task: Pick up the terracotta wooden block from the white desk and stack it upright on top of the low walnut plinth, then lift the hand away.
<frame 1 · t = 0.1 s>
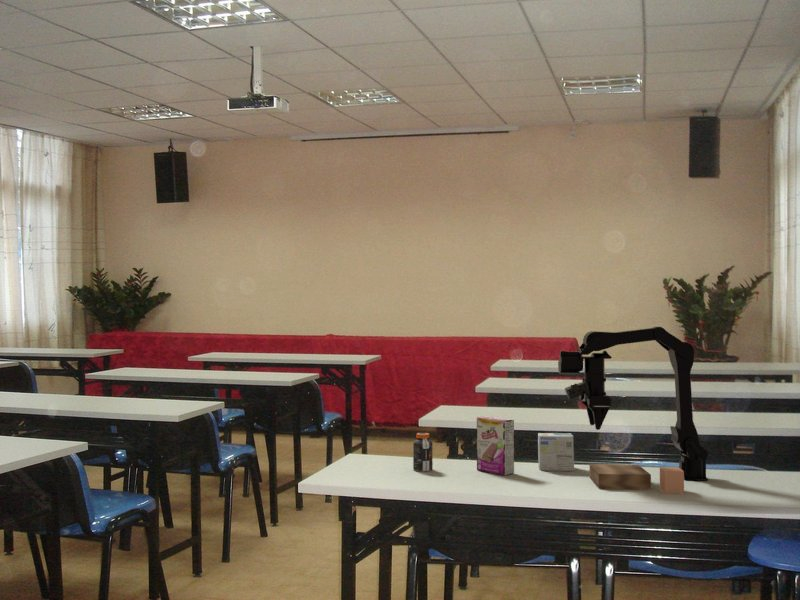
hand: (594, 427, 227), 15 cm above the table, fingers open, 9 cm apart
terracotta block: (671, 491, 209), on the table
pill bottle: (422, 470, 238), on the table
light bulb box: (555, 469, 240), on the table
candy bar box: (495, 472, 235), on the table
walnut plinth: (619, 483, 219), on the table
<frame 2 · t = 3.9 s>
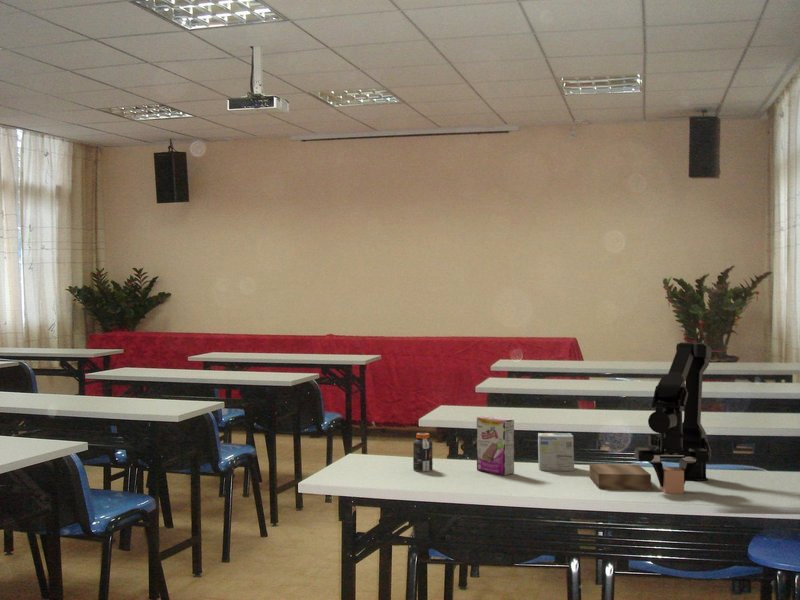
hand: (671, 486, 209), 1 cm above the table, fingers closed on terracotta block, 5 cm apart
terracotta block: (671, 491, 209), on the table, touching gripper
everything else where it was.
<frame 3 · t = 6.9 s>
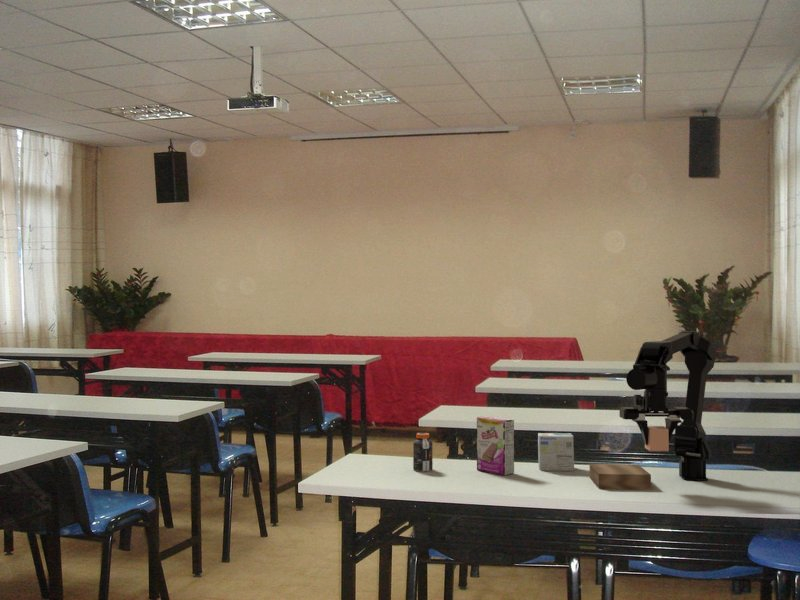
hand: (656, 444, 212), 12 cm above the table, fingers closed on terracotta block, 5 cm apart
terracotta block: (656, 449, 212), point 11 cm above the table, touching gripper
everything else where it was.
when the fingers open (7 cm above the table, at t = 10.0 s): terracotta block drops 1 cm, resting on walnut plinth.
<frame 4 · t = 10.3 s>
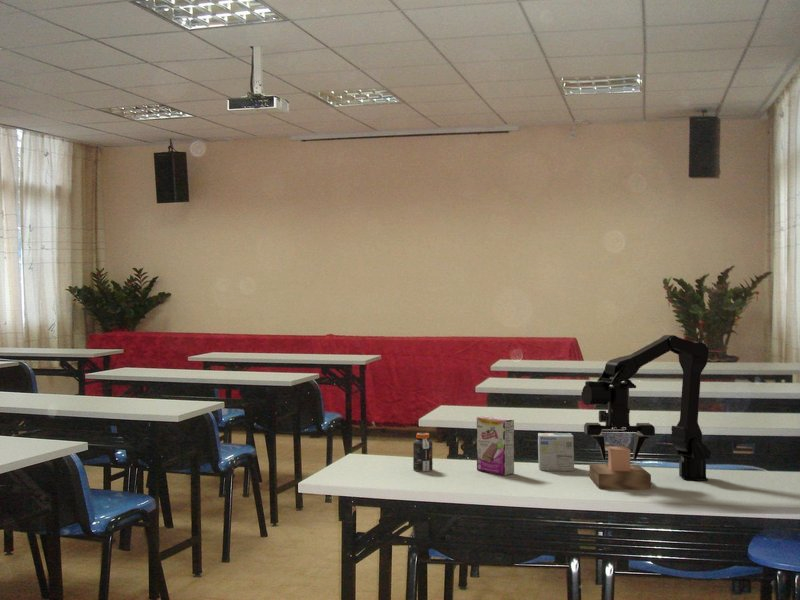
hand: (619, 459, 219), 7 cm above the table, fingers open, 8 cm apart
terracotta block: (619, 469, 219), point 4 cm above the table, touching walnut plinth
everything else where it was.
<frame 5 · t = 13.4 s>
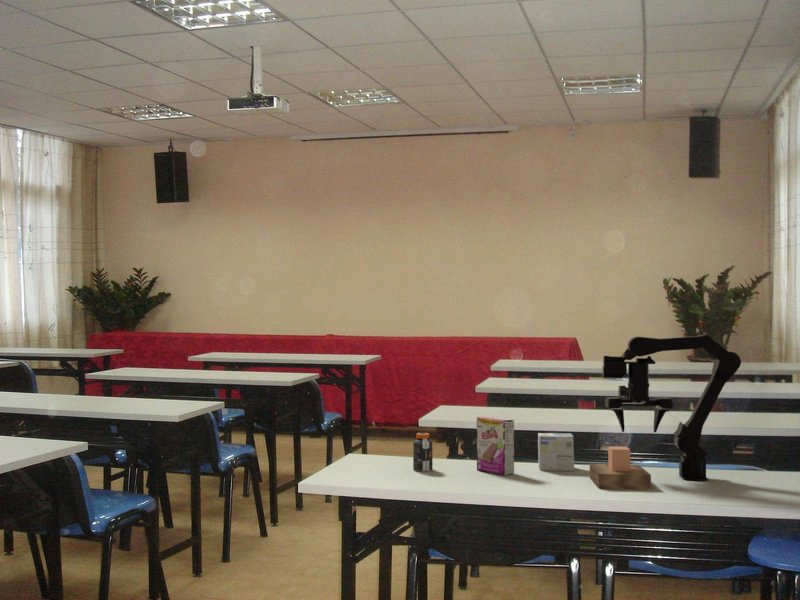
hand: (638, 432, 228), 13 cm above the table, fingers open, 9 cm apart
nothing on the table moved.
at the end: terracotta block inside the target area on the walnut plinth (0.1 cm from its centre), point 4.0 cm above the walnut plinth's base; terracotta block tilted 0°; the gripper is holding nothing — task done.
